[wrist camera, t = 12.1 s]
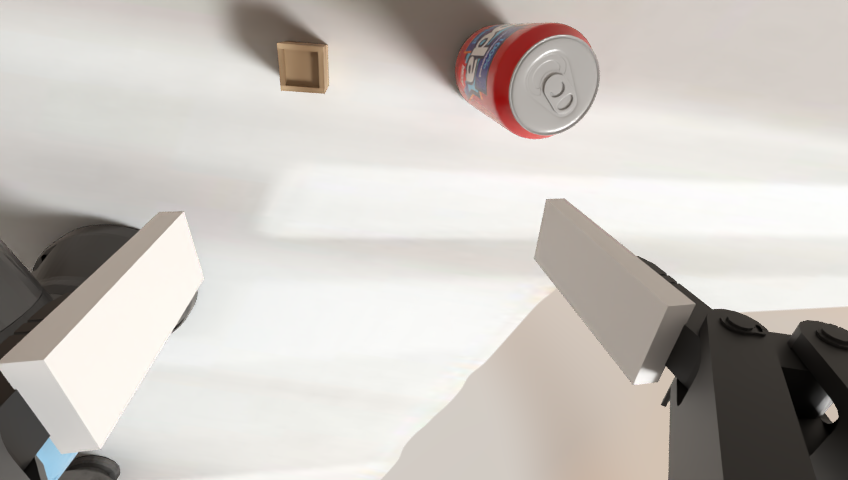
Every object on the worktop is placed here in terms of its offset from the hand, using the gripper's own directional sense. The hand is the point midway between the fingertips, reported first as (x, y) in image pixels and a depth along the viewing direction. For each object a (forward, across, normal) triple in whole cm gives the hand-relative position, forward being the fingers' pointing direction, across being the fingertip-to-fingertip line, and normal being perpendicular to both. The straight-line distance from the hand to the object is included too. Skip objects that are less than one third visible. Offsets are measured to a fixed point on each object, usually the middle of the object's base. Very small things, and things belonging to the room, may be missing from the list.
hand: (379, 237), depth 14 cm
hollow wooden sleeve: (+28, -5, +4) cm, 29 cm away
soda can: (+28, +13, +4) cm, 31 cm away
